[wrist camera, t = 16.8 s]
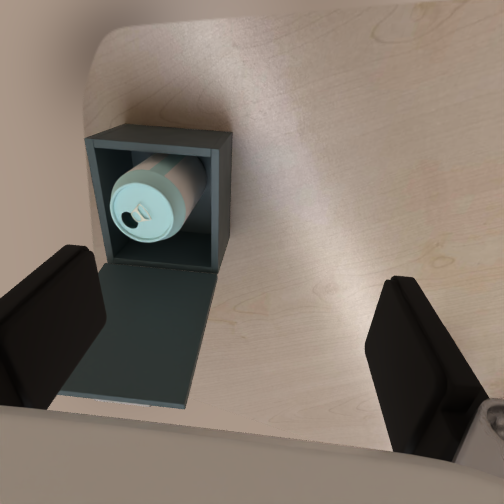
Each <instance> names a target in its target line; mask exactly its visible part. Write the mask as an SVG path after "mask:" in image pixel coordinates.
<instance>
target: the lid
mask: <svg viewBox="0 0 504 504" xmlns="http://www.w3.org/2000/svg"><path fill="white" fill-rule="evenodd" d="M98 276H99V281H100V285H101V290H102V295H103V300H104V304H105V309H106V314H107V320H106V323H105V326H104V327H103V329H102V330H101V332H100V333H99V334H98V336H97V337H96V339H95V340H94V342H93V343H92V345H91V346H90V348H89V349H88V350H87V352H86V353H85V355H84V356H83V358H82V359H81V361H80V362H79V363H78V365H77V366H76V368H75V369H74V371H73V372H72V374H71V375H70V377H69V378H68V379H67V381H66V382H65V384H64V385H63V387H62V388H61V390H60V391H59V392H58V394H57V395H65V396H74V397H83V398H91V399H94V400H95V401H103V402H112V403H121V404H130V405H138V406H146V407H151V406H160V407H170V408H178V409H185V408H186V404H187V399H188V396H189V392H190V388H191V384H192V380H193V376H194V372H195V368H196V363H197V359H198V355H199V351H200V347H201V343H202V339H203V335H204V331H205V327H206V323H207V319H208V315H209V311H210V307H211V303H212V299H213V295H214V291H215V287H216V283H217V274H212V273H202V272H191V271H181V270H171V269H161V268H150V267H140V266H130V265H120V264H109V263H105V264H104V265H103V267H102V268H101V270H100V271H99V273H98Z"/></svg>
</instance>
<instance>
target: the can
mask: <svg viewBox="0 0 504 504" xmlns="http://www.w3.org/2000/svg"><path fill="white" fill-rule="evenodd" d="M205 187H206V172H205V169H204V167H203V165H202V163H201V162H200V160H199V159H198V158H197V157H196V156H190V155H178V154H166V153H155V154H153V155H152V156H150V157H149V158H147V159H146V160H144V161H143V162H141V163H140V164H138V165H137V166H136V167H134V168H133V169H131V170H130V171H128V172H127V173H125V174H124V175H122V176H121V177H120V178H119V179H118V180H117V181H116V183H115V185H114V187H113V189H112V193H111V201H110V212H111V216H112V218H113V221H114V222H115V224H116V226H117V227H118V228H119V229H120V230H121V231H122V232H123V233H124V234H125V235H127V236H128V237H130V238H132V239H134V240H137V241H140V242H147V243H150V242H156V241H159V240H164V239H167V238H170V237H172V236H173V235H175V234H176V233H177V232H178V231H179V230H180V229H181V227H182V225H183V224H184V222H185V221H186V219H187V218H188V216H189V214H190V213H191V211H192V210H193V208H194V207H195V205H196V203H197V202H198V200H199V199H200V197H201V196H202V194H203V192H204V190H205Z"/></svg>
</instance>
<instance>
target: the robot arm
mask: <svg viewBox="0 0 504 504" xmlns="http://www.w3.org/2000/svg"><path fill="white" fill-rule="evenodd" d="M106 320H107V314H106V309H105V304H104V300H103V295H102V290H101V285H100V281H99V276H98V271H97V266H96V261H95V257H94V253H93V252H92V251H89V249H88V248H87V247H86V246H79V245H65V246H64V247H62V248H61V249H60V250H59V251H58V252H56V253H55V254H54V255H53V256H52V257H50V258H49V259H48V260H47V261H46V262H44V263H43V264H42V265H41V266H39V267H38V268H37V269H36V270H34V271H33V272H32V273H31V274H30V275H28V276H27V277H26V278H25V279H23V280H22V281H21V282H20V283H19V284H17V285H16V286H15V287H14V288H12V289H11V290H10V291H9V292H8V293H7V294H5V295H4V296H3V297H2V298H0V504H504V400H503V399H495V398H491V399H490V398H489V397H488V395H487V393H486V392H485V390H484V389H483V387H482V385H481V384H480V382H479V381H478V379H477V377H476V376H475V374H474V372H473V371H472V369H471V368H470V366H469V364H468V363H467V361H466V360H465V358H464V356H463V355H462V353H461V352H460V350H459V348H458V347H457V345H456V344H455V342H454V340H453V339H452V337H451V335H450V334H449V332H448V331H447V329H446V327H445V326H444V325H443V323H442V322H441V320H440V319H439V317H438V315H437V314H436V312H435V310H434V309H433V307H432V306H431V304H430V302H429V301H428V299H427V298H426V296H425V294H424V293H423V291H422V290H421V288H420V286H419V285H418V283H417V281H416V280H415V279H414V278H413V277H404V276H393V277H392V278H391V280H386V281H385V283H384V285H383V289H382V292H381V295H380V298H379V301H378V304H377V307H376V310H375V314H374V317H373V320H372V323H371V326H370V329H369V332H368V335H367V339H366V342H365V354H366V358H367V361H368V365H369V368H370V372H371V375H372V379H373V382H374V386H375V389H376V393H377V396H378V400H379V403H380V407H381V410H382V414H383V417H384V421H385V424H386V428H387V431H388V435H389V438H390V442H391V445H392V449H393V452H390V451H383V450H376V449H369V448H362V447H354V446H347V445H339V444H331V443H323V442H315V441H307V440H298V439H290V438H282V437H274V436H266V435H258V434H249V433H242V432H234V431H225V430H216V429H208V428H200V427H191V426H182V425H174V424H165V423H157V422H149V421H140V420H131V419H123V418H113V417H104V416H96V415H87V414H78V413H69V412H60V411H51V410H47V408H48V407H49V406H50V404H51V403H52V401H53V400H54V398H55V397H56V395H57V394H58V392H59V391H60V390H61V388H62V387H63V385H64V384H65V382H66V381H67V379H68V378H69V377H70V375H71V374H72V372H73V371H74V369H75V368H76V366H77V365H78V363H79V362H80V361H81V359H82V358H83V356H84V355H85V353H86V352H87V350H88V349H89V348H90V346H91V345H92V343H93V342H94V340H95V339H96V337H97V336H98V334H99V333H100V332H101V330H102V329H103V327H104V326H105V323H106Z"/></svg>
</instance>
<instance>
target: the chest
mask: <svg viewBox="0 0 504 504" xmlns="http://www.w3.org/2000/svg"><path fill="white" fill-rule="evenodd" d="M232 134H233V133H232V132H223V131H210V130H197V129H184V128H172V127H159V126H146V125H134V124H123V125H120V126H117V127H114V128H111V129H109V130H106V131H103V132H100V133H98V134H95V135H92V136H89V137H87V138H84V139H85V145H86V150H87V155H88V161H89V166H90V171H91V177H92V182H93V187H94V193H95V198H96V203H97V209H98V214H99V219H100V224H101V230H102V235H103V240H104V246H105V251H106V256H107V262H108V263H111V264H121V265H132V266H142V267H152V268H162V269H173V270H183V271H193V272H204V273H214V274H218V273H219V270H220V266H221V263H222V260H223V257H224V254H225V250H226V247H227V244H228V241H229V236H230V202H231V168H232ZM155 153H166V154H178V155H190V156H196V157H197V158H198V159H199V160H200V162H201V163H202V165H203V167H204V169H205V172H206V187H205V190H204V192H203V194H202V196H201V197H200V199H199V200H198V202H197V203H196V205H195V207H194V208H193V210H192V211H191V213H190V214H189V216H188V218H187V219H186V221H185V222H184V224H183V225H182V227H181V229H180V230H179V231H178V232H177V233H176V234H175V235H173V236H172V237H170V238H167V239H164V240H159V241H156V242H150V243H147V242H140V241H137V240H134V239H132V238H130V237H128V236H127V235H125V234H124V233H123V232H122V231H121V230H120V229H119V228H118V227H117V226H116V224H115V222H114V221H113V218H112V216H111V212H110V201H111V193H112V189H113V187H114V185H115V183H116V181H117V180H118V179H119V178H120V177H121V176H122V175H124V174H125V173H127V172H128V171H130V170H131V169H133V168H134V167H136V166H137V165H138V164H140V163H141V162H143V161H144V160H146V159H147V158H149V157H150V156H152V155H153V154H155Z"/></svg>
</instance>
